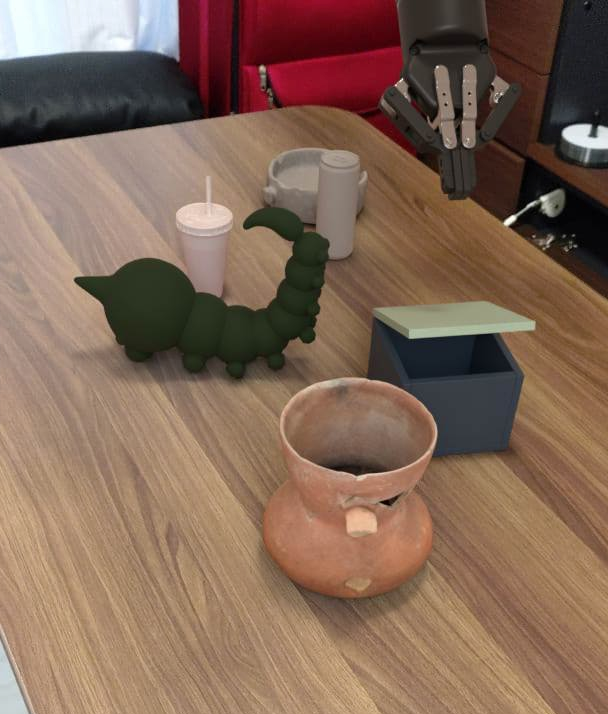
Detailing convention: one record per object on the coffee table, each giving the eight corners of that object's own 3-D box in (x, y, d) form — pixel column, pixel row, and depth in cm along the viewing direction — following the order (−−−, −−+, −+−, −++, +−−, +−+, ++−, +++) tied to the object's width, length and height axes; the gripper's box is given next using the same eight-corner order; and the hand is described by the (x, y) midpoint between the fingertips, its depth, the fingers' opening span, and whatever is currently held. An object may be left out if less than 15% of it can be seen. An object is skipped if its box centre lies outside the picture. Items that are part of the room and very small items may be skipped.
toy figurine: (310, 356, 109) (85, 324, 107) (336, 194, 95) (80, 156, 94) (306, 406, 102) (66, 374, 100) (334, 240, 89) (58, 199, 87)
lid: (535, 330, 86) (535, 321, 86) (408, 339, 84) (409, 329, 84) (486, 308, 97) (486, 300, 97) (373, 316, 95) (373, 307, 95)
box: (507, 449, 96) (525, 375, 89) (392, 460, 94) (403, 384, 88) (471, 381, 104) (485, 308, 97) (365, 389, 102) (373, 316, 96)
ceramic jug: (439, 629, 79) (467, 498, 69) (260, 626, 78) (262, 494, 68) (417, 482, 91) (438, 354, 82) (262, 479, 91) (265, 350, 81)
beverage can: (340, 265, 120) (347, 170, 112) (307, 254, 122) (312, 159, 114) (359, 250, 123) (368, 156, 115) (327, 239, 125) (333, 146, 116)
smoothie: (231, 308, 112) (230, 191, 102) (176, 306, 112) (169, 188, 102) (235, 280, 117) (234, 165, 107) (181, 277, 116) (176, 162, 107)
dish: (303, 173, 139) (305, 138, 135) (385, 202, 133) (389, 166, 130) (240, 208, 130) (240, 171, 127) (325, 240, 125) (327, 203, 121)
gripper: (376, -25, 80) (398, 184, 80) (528, -27, 82) (549, 177, 82) (356, 24, 87) (376, 215, 88) (496, 21, 90) (516, 208, 90)
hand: (460, 197), depth 85 cm, fingers closed
